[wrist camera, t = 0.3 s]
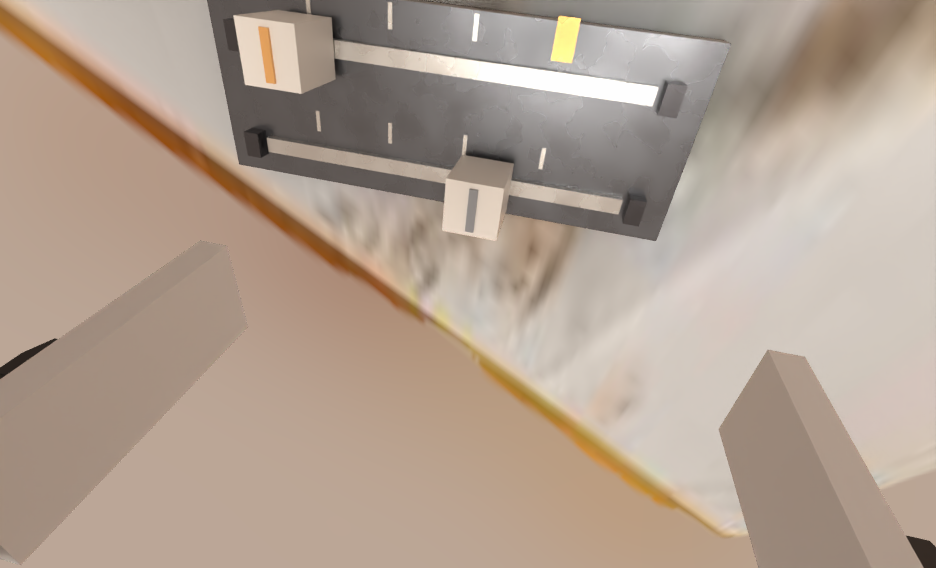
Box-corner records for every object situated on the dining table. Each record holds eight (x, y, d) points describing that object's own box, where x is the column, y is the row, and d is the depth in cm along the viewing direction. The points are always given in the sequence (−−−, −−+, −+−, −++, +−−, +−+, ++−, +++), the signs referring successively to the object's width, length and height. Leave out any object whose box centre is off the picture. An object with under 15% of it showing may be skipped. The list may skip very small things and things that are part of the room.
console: (219, -32, 34) (189, -32, 31) (725, 34, 30) (738, 40, 27) (252, 156, 42) (230, 169, 40) (653, 229, 38) (657, 248, 35)
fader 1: (277, 9, 32) (231, 15, 28) (331, 17, 32) (292, 24, 27) (285, 71, 34) (243, 85, 30) (335, 79, 34) (299, 94, 30)
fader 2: (462, 154, 35) (445, 179, 31) (513, 163, 35) (503, 189, 30) (457, 202, 37) (441, 231, 33) (506, 211, 37) (495, 242, 33)
